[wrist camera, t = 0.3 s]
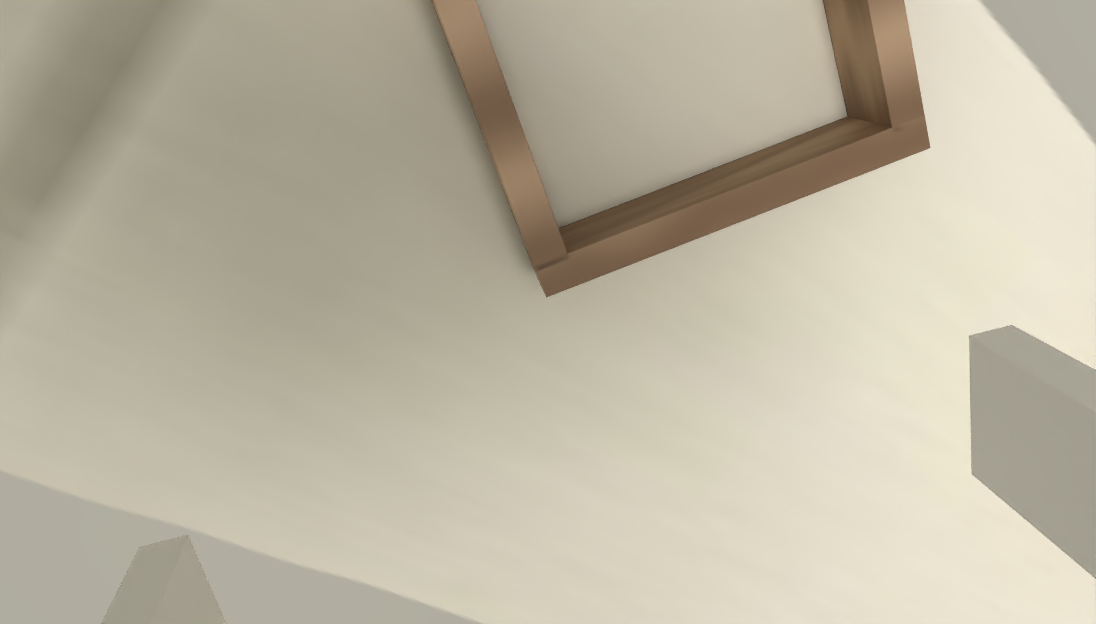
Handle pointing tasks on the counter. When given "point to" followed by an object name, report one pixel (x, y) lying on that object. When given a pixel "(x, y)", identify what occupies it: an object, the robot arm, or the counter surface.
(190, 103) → the counter surface
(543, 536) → the counter surface
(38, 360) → the counter surface
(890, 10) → the wooden tray
